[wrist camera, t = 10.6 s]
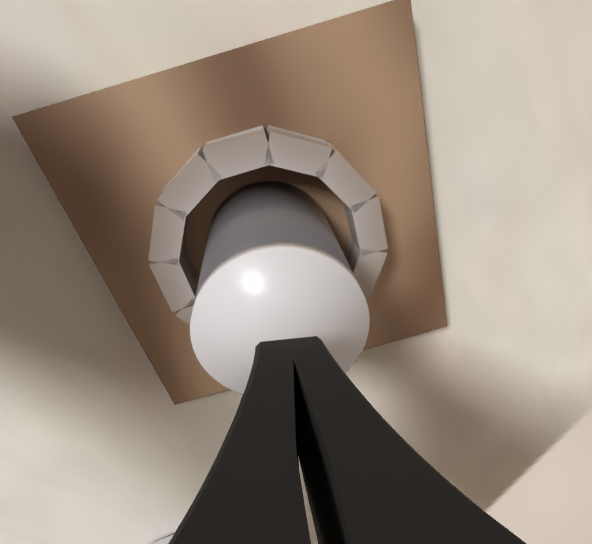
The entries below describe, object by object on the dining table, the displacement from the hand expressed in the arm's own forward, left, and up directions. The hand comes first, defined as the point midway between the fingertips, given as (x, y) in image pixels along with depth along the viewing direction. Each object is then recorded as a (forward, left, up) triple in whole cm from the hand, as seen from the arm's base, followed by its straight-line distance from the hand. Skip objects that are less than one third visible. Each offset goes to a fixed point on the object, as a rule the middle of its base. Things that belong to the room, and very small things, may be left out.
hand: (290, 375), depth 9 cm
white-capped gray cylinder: (0, 0, -8) cm, 8 cm away
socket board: (0, 0, -9) cm, 9 cm away
